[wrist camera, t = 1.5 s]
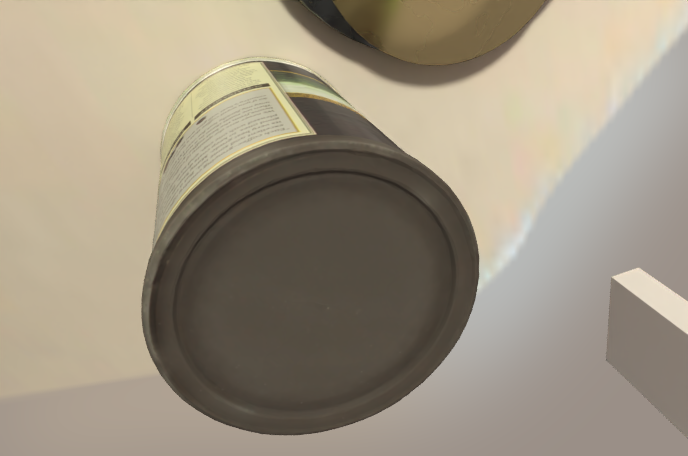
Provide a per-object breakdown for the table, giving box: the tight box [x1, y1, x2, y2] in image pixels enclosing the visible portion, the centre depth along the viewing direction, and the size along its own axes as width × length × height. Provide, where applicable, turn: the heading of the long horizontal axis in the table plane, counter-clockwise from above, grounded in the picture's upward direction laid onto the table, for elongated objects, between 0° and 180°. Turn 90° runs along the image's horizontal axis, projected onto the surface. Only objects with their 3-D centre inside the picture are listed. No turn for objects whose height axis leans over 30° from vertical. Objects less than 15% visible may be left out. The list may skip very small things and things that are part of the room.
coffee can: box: [142, 57, 479, 435], centre depth 23 cm, size 10×10×14 cm
